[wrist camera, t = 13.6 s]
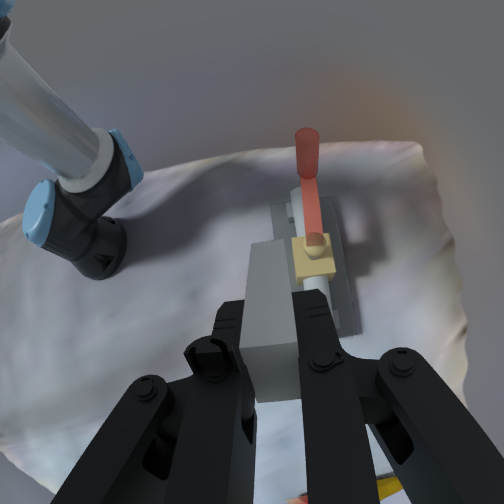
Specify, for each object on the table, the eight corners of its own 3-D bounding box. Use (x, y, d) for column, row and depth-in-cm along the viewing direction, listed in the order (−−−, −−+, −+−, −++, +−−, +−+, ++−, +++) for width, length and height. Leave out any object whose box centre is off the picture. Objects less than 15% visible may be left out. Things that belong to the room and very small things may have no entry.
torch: (394, 470, 34) (275, 513, 33) (397, 451, 33) (266, 498, 32) (411, 495, 26) (282, 543, 25) (417, 478, 25) (273, 532, 24)
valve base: (285, 344, 44) (281, 345, 34) (270, 208, 53) (263, 177, 43) (354, 335, 43) (369, 332, 33) (330, 200, 52) (335, 168, 42)
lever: (326, 256, 37) (334, 229, 28) (304, 257, 37) (305, 230, 29) (316, 167, 42) (317, 127, 33) (296, 168, 42) (294, 128, 34)
